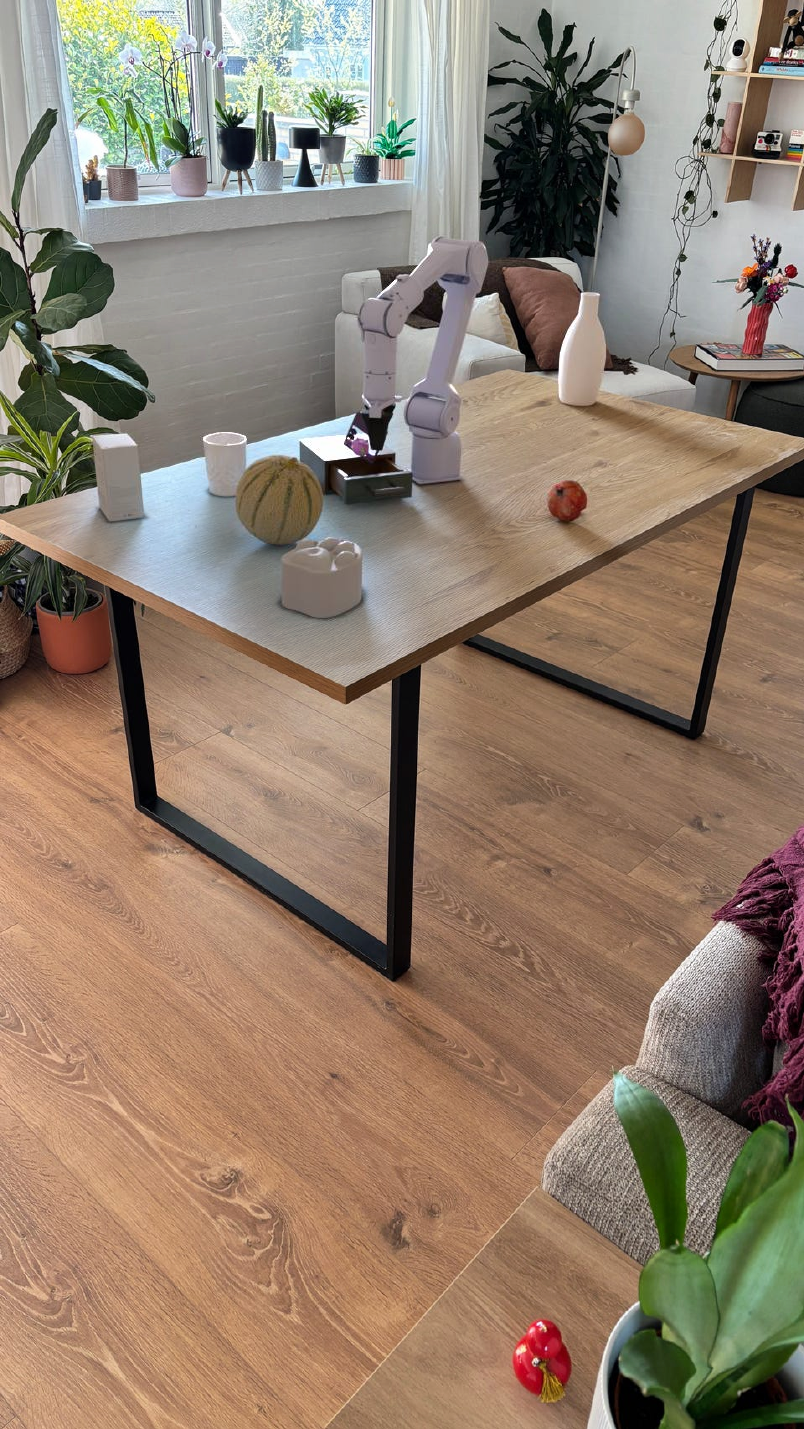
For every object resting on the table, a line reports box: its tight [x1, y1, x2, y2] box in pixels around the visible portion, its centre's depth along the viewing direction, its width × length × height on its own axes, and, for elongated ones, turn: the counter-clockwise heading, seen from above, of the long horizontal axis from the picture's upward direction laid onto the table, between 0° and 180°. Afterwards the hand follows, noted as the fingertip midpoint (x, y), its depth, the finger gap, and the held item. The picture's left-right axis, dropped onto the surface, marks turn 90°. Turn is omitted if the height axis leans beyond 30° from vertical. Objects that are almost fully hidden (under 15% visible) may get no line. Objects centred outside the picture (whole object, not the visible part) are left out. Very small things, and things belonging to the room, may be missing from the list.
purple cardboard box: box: [343, 410, 389, 464], centre depth 200 cm, size 7×5×9 cm
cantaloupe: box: [234, 454, 324, 546], centre depth 181 cm, size 15×15×15 cm
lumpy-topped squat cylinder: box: [280, 536, 363, 619], centre depth 164 cm, size 10×13×9 cm
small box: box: [91, 433, 145, 522], centre depth 191 cm, size 8×6×13 cm
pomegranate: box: [546, 479, 588, 523], centre depth 198 cm, size 7×7×10 cm
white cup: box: [202, 432, 247, 497], centre depth 203 cm, size 8×8×10 cm
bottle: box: [558, 291, 607, 407], centre depth 264 cm, size 11×11×25 cm
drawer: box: [328, 458, 413, 506], centre depth 203 cm, size 17×13×5 cm
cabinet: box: [298, 432, 397, 495], centre depth 212 cm, size 14×15×7 cm
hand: (377, 446), depth 199 cm, fingers closed on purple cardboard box, 3 cm apart
